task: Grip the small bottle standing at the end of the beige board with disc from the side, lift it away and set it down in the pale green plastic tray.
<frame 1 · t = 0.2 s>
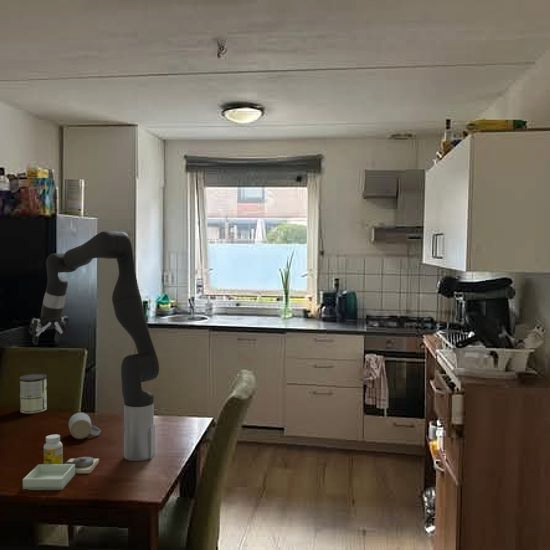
hand: (46, 342, 209), 31 cm above the table, tool tilted 20°, fingers open, 8 cm apart
coffee can: (33, 410, 225), on the table
ceramic mug: (84, 436, 194), on the table
tray: (49, 481, 155), on the table
beige board with disc: (79, 467, 166), on the table
supplement bottle: (53, 468, 165), on the table
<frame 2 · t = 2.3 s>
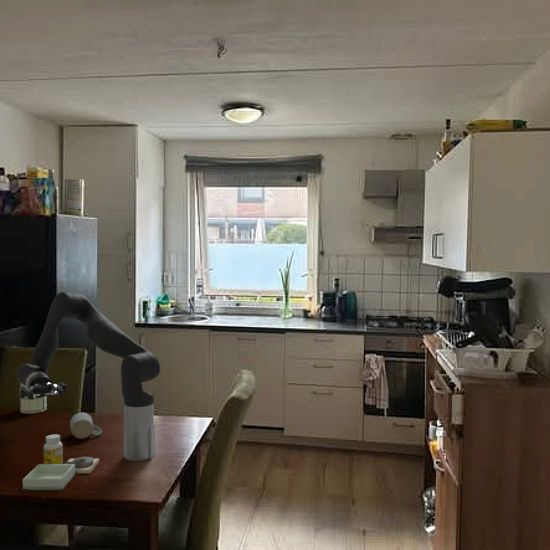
hand: (46, 395, 174), 20 cm above the table, tool horizontal, fingers open, 8 cm apart
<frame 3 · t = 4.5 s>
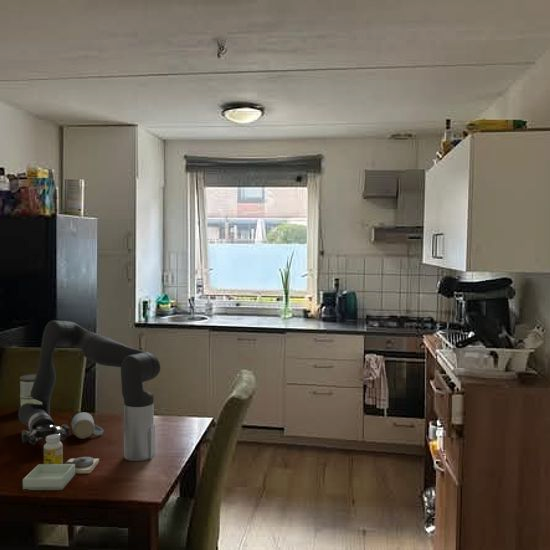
hand: (49, 439, 171), 6 cm above the table, tool horizontal, fingers open, 8 cm apart
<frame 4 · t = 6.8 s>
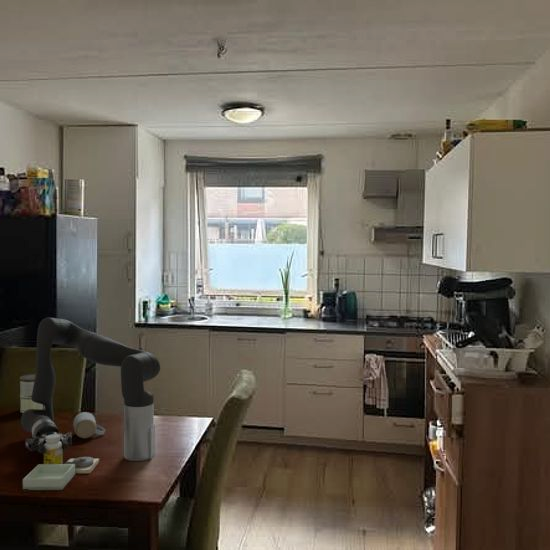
hand: (54, 448, 163), 7 cm above the table, tool horizontal, fingers closed on supplement bottle, 5 cm apart
supplement bottle: (53, 468, 165), on the table, touching gripper
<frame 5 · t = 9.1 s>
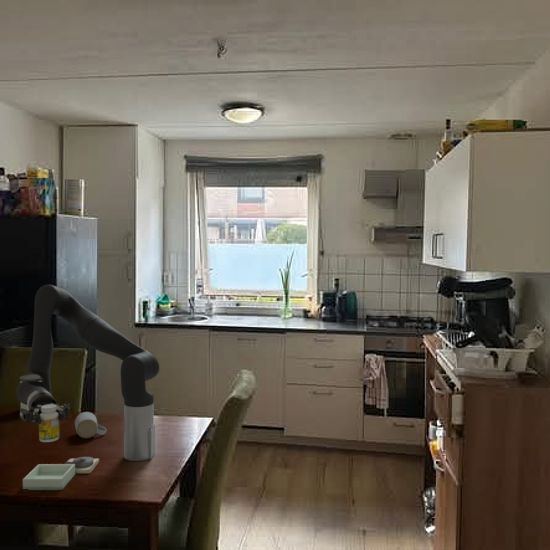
hand: (50, 419, 152), 19 cm above the table, tool horizontal, fingers closed on supplement bottle, 5 cm apart
supplement bottle: (49, 440, 155), point 12 cm above the table, touching gripper
when the fingers open (8 cm above the table, at t = 11.5 s): supplement bottle drops 1 cm, resting on tray.
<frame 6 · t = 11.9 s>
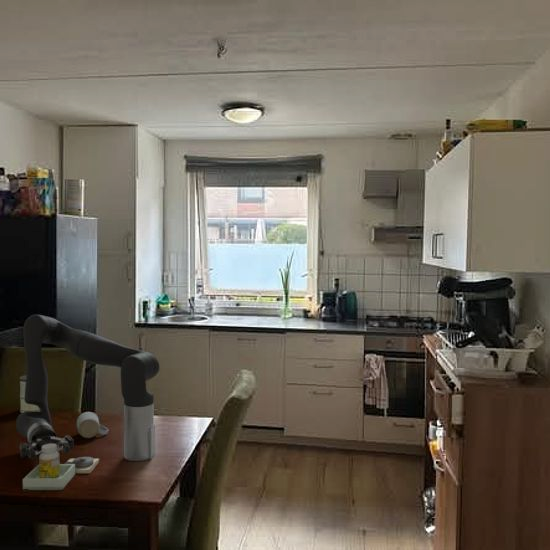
hand: (50, 453, 153), 9 cm above the table, tool horizontal, fingers open, 8 cm apart
supplement bottle: (49, 479, 155), point 1 cm above the table, touching tray
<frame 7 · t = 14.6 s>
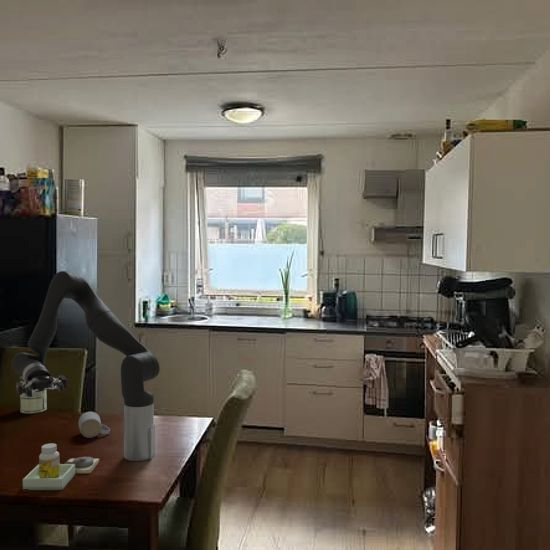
hand: (46, 391, 164), 23 cm above the table, tool horizontal, fingers open, 8 cm apart
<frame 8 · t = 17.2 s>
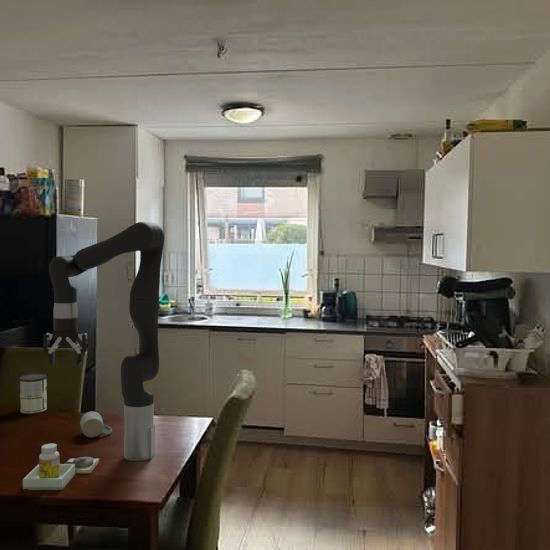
hand: (66, 364, 181), 28 cm above the table, tool pointing down, fingers open, 8 cm apart
at the end: supplement bottle inside the target area on the tray (0.1 cm from its centre), point 0.6 cm above the tray's base; the gripper is holding nothing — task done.
